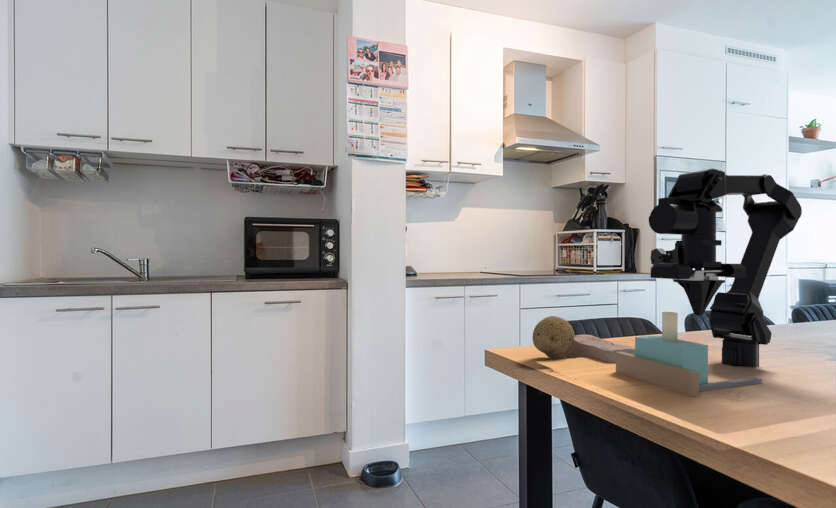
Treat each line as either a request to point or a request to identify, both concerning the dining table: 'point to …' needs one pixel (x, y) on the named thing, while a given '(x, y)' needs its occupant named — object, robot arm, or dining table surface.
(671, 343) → the dowel block
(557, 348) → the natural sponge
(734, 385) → the track
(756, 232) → the robot arm
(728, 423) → the dining table surface
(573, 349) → the brick
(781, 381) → the dining table surface
